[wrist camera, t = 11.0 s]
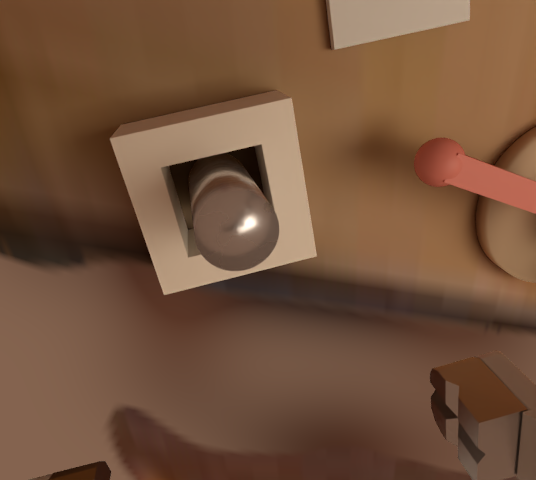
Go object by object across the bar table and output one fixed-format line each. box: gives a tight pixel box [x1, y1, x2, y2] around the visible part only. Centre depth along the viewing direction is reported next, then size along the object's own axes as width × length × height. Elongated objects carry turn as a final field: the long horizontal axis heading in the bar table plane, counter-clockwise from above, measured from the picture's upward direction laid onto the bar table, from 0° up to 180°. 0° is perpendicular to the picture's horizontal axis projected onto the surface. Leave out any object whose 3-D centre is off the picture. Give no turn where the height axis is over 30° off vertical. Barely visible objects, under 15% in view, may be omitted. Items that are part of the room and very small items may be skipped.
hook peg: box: [188, 153, 279, 271], centre depth 22 cm, size 4×4×9 cm
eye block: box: [110, 90, 317, 295], centre depth 25 cm, size 9×9×4 cm
